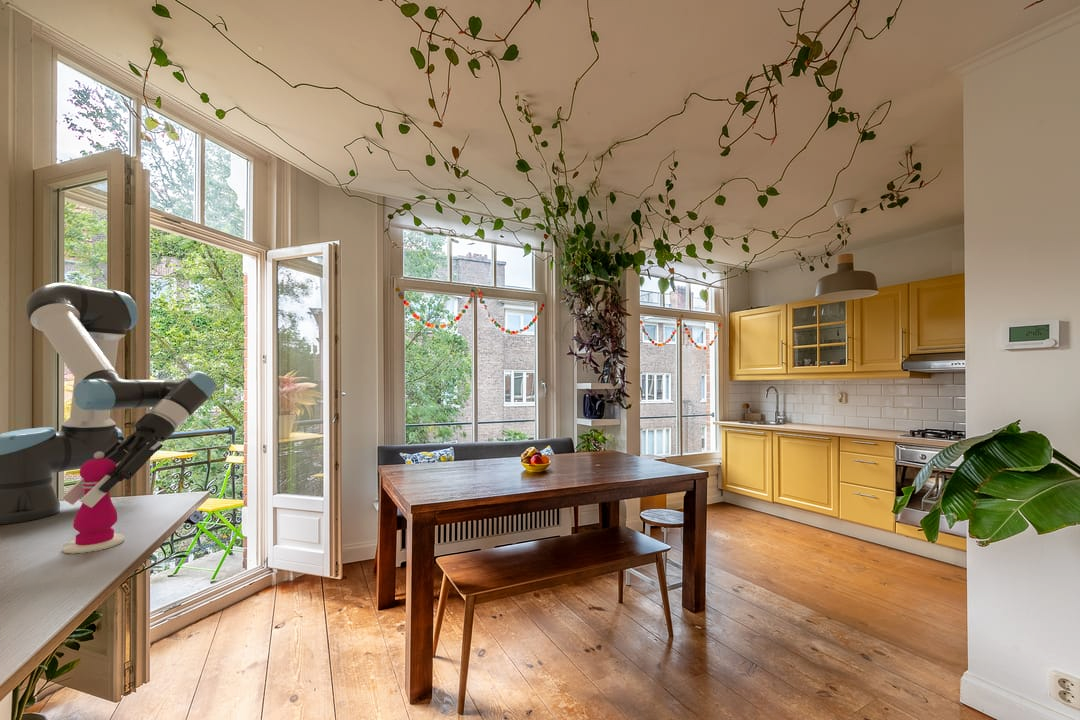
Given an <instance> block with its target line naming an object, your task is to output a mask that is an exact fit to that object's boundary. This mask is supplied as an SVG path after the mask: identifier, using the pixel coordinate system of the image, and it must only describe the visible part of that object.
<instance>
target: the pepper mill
mask: <svg viewBox="0 0 1080 720" xmlns="http://www.w3.org/2000/svg"><path fill="white" fill-rule="evenodd" d="M103 457H104V453H103V452H101V451H99V452H96V453H95V454H94V458H95V459H92V460H89V461H87V462H85V463H84V464H83V465H82V466H81V468H80V469H79V476H80V477H81V478H83V479H84V480H85V481H83V482H82V483H83V486H82V488H84V489H85V494H84V495H83V497H84V496H85V495H86V494H87V493H88V492H89V491H90V490H91V489H92V488H93V487H94V486H95V485H96V484H97V483H98V482H99V481H100V480H101V479H103V478H104V477H105V476H106V475H109V474H108V472H110V471H113V470H114V469H115V468H116V467H117V464H115V462H114V461H112V460H111V459H107V458H103ZM109 476H110V477H111V475H109ZM110 491H111V489H110V490H109V491H108V492H107V493H106V494H105V495H104V496H103V497H102V498H101V499H100V500H99V501H98V502H97V503H96V504H95V505H94V506H93V507H92V508H91V507H88V506H87V505H85V504H84V503H82V502H81V505H80V507H79V509H78V511H77V512H76V515H75V516H74V518H73V519H74V520H73V521H72V527H73V529H74V530H75V531H76V532H78V533H77V534H76V535H75V539H74V540H75V543H76V544H77V545H90V544H96V543H101V542H105V541H108V540H110V539H112V538H113V537H114V533H115V529H114V528H112V527H113V526H114V525H115V524H116V523H117V522H118V512H117V509H116V507H115V505H114V502H112V497H111V495H110V494H111V493H110Z"/></svg>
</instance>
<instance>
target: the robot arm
mask: <svg viewBox="0 0 1080 720" xmlns="http://www.w3.org/2000/svg"><path fill="white" fill-rule="evenodd" d="M24 306H25V307H24V311H25V315H26V317H27V319H28V321H29V323H30V324H31V326H32V327H33V328H35V329H37V330H39V331H41V332H43V334H44V335H45V337H46V338H47V340H48V341H49V343H50V344H51V345H52V347H53V348H54V349H55V351H56V353H57V354H58V355H59V357H60V358H61V360H62V362H63V363H64V364H65V366H66V367H67V369H68V370H69V371H70V373H71V374H72V376H73V378H74V379H73V388H72V396H71V403H70V414H69V418H68V419H66V420H65V421H64V422H62V423H61V425H60V426H61V428H60V430H58V431H57V430H56V428H54V427H51V426H47V427H46V426H45V427H43V426H42V427H34V428H32V427H31V428H24V429H17V430H13V431H7V432H3V433H0V525H7V524H8V525H9V524H15V523H23V522H28V521H33V520H38V519H43V518H47V517H50V516H52V515H55V514H56V515H57V514H58V513H59V512H60V511H61V503H60V500H58V496H57V492H56V491H55V488H54V485H53V475H54V474H55V473H61V472H69V471H75V470H80V468H81V466H82V465H83V464H84V463H85V462H87V461H89V460H92V459H95V458H94V454H95V453H96V452H99V451H101V452H103V453H104V457H103V458H107V459H111V460H112V461H114V462H115V464H116V468H115V469H114V470H113V471H110V472H108V474H109V475H111V477H110V476H109V475H106V476H105V477H104V478H103V479H101V480H100V481H99V482H98V483H97V484H96V485H95V486H94V487H93V488H92V489H91V490H90V491H89V492H88V493H87V494H86V495H85V489H84V488H82V486H83V483H82V482H83V481H85V480H84V479H83V478H82V477H81V478H80V479H79V480H78V481H77V482H76V483H75V484H73V486H72V487H70V488H69V489H68V490H67V491H66V492H65V493H64V494H63V495H62V496H61V497H60V499H62V500H63V501H65V502H66V503H68V504H70V505H72V506H74V505H75V504H76V503H77V502H78V501H79V502H80V503H81V504H82V503H84V504H85V505H87V506H88V507H91V508H92V507H93V506H94V505H95V504H96V503H97V502H98V501H99V500H100V499H101V498H102V497H103V496H104V495H105V494H106V493H107V492H108V491H109V490H110V491H111V490H112V488H114V486H116V485H117V484H118V483H119V482H122V481H123V480H130V479H132V478H133V477H134V475H135V474H136V473H138V472H139V470H140V469H141V468H142V467H143V466H144V465H145V464H146V463H147V462H148V461H149V460H150V459H151V457H153V456H154V454H156V453H157V452H158V451H159V450H160V449H162V448H163V446H164V444H162V442H163V443H164V442H166V441H167V440H168V439H169V437H171V436H172V435H173V433H175V431H176V429H178V428H180V426H182V425H184V424H185V422H186V420H187V419H188V418H190V417H191V416H192V415H193V414H194V413H195V412H196V411H197V410H198V409H199V408H200V407H201V406H202V405H203V404H204V403H206V402H207V400H208V399H210V398H211V396H212V395H213V394H214V393H215V391H216V390H217V388H218V385H217V383H216V381H215V380H214V379H213V378H212V377H211V376H210V375H208V374H207V373H205V372H203V371H198V370H197V371H192V372H191V373H189V374H188V375H186V376H185V377H184V379H162V378H161V379H157V378H155V379H123V378H122V377H121V376H120V374H119V373H118V372H117V370H116V364H117V356H118V347H119V341H120V340H121V339H122V338H124V337H125V336H126V335H127V331H129V330H132V329H133V328H134V327H136V324H137V323H138V319H139V309H138V307H137V306H138V305H137V302H136V301H135V300H134V298H133V297H132V296H131V295H130V294H127V293H126V292H122V291H119V290H114V289H108V288H102V287H94V286H87V285H81V284H74V283H70V282H53V283H49V284H45V285H43V286H41V287H38V288H37V289H35V290H34V291H33V292H32V293H31V294H30V295H29V296H28V298H27V300H26V302H25V305H24ZM144 408H145V409H147V408H148V409H149V408H150V409H149V410H148V412H147V413H145V414H144V415H143V416H141V418H139V419H138V420H137V421H136V422H135V424H134V427H135V432H132V434H130V435H129V436H128V437H124V434H123V433H124V432H123V431H122V429H120V428H119V427H117V425H116V424H117V423H116V421H115V420H113V419H112V418H111V410H124V409H126V410H127V409H144ZM84 495H85V496H84Z"/></svg>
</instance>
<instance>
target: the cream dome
mask: <svg viewBox="0 0 1080 720" xmlns="http://www.w3.org/2000/svg"><path fill="white" fill-rule="evenodd" d="M123 541H124V542H125V535H124V534H122V533H115V532H114V537H113V538H112V539H110V540H108V541H105V542H101V543H96V544H90V545H77V544H76V543H75V539H74V540H73V539H72V540H70V541H67V542H66V543H64V544H63V545H62V550H61V551H63V552H64V554H66V553H70V554H69V555H76V554H75V553H80V554H86V553H85V552H88V553H92V552H91V551H94V552H98V550H99V551H103V550H102V549H104V550H108V549H110V548H114V547H116V545H117V546H119V545H121V544H123V543H124V542H123ZM122 542H123V543H122ZM120 543H121V544H120ZM118 544H119V545H118ZM107 548H108V549H107ZM63 552H62V553H63Z"/></svg>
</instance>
